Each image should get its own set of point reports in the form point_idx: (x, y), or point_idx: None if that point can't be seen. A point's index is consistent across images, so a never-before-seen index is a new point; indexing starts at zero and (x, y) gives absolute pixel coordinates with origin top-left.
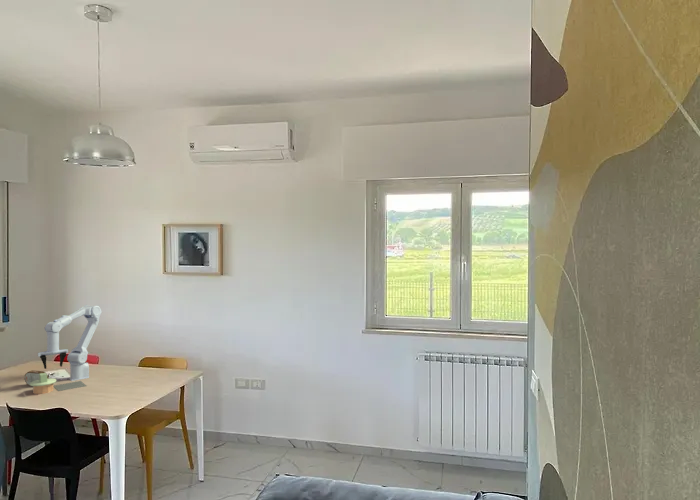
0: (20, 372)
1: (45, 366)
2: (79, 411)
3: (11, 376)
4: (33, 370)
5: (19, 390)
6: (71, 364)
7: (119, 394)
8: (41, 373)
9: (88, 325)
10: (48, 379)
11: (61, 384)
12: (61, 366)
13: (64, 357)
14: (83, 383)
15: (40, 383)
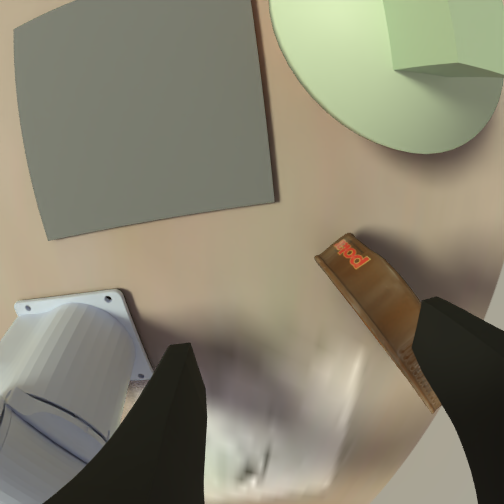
0: (345, 496)
1: (458, 313)
2: None
3: (384, 471)
4: (430, 405)
5: (468, 233)
6: (88, 432)
7: None
8: (496, 61)
9: None
10: (362, 70)
11: (198, 202)
12: (176, 345)
13: (69, 491)
14: (23, 129)
15: None
